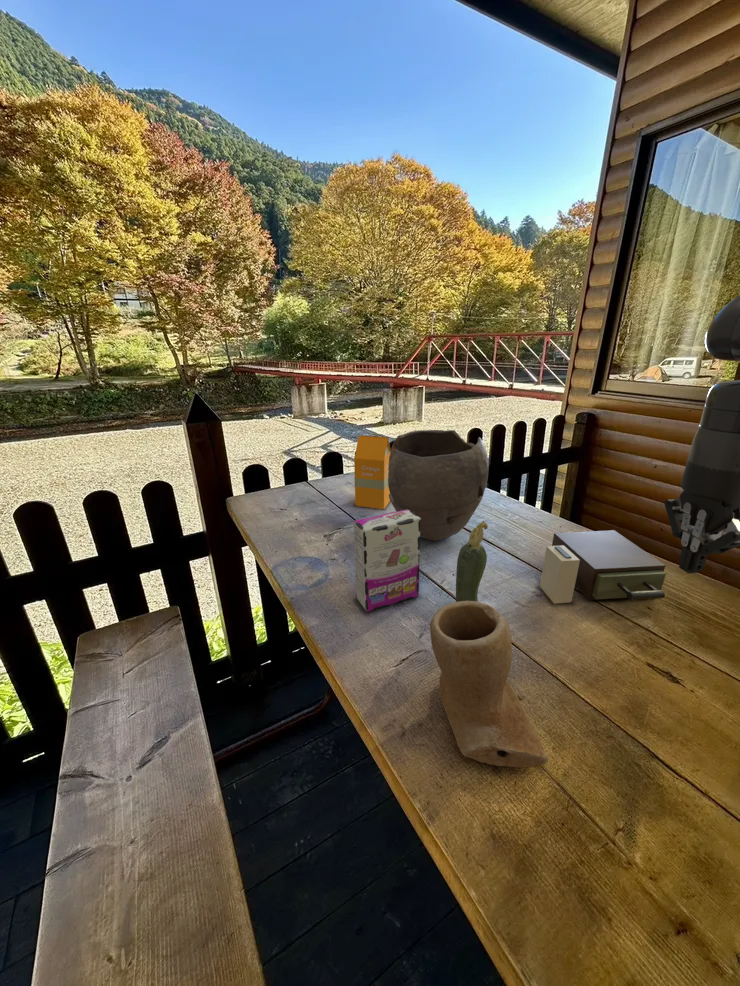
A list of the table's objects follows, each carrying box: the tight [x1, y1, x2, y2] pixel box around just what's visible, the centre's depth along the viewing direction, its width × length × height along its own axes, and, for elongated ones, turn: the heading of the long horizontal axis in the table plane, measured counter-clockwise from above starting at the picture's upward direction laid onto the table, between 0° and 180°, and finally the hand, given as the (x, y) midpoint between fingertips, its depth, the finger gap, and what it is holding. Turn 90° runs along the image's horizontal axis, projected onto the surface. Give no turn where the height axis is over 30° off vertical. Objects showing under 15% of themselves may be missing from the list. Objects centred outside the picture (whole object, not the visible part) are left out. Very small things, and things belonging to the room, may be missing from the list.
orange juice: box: [353, 434, 391, 510], centre depth 117 cm, size 8×9×20 cm
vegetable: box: [455, 520, 489, 602], centre depth 65 cm, size 4×4×20 cm
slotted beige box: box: [539, 545, 580, 604], centre depth 76 cm, size 3×6×9 cm, turn 5°
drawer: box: [592, 570, 667, 601], centre depth 79 cm, size 18×12×5 cm
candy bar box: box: [353, 509, 421, 613], centre depth 74 cm, size 11×5×16 cm, turn 115°
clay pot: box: [388, 429, 490, 542], centre depth 96 cm, size 24×24×25 cm
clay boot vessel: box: [429, 601, 549, 769], centre depth 50 cm, size 15×12×15 cm
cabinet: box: [551, 529, 666, 601], centre depth 82 cm, size 15×14×7 cm
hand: (688, 570), depth 62 cm, fingers closed
